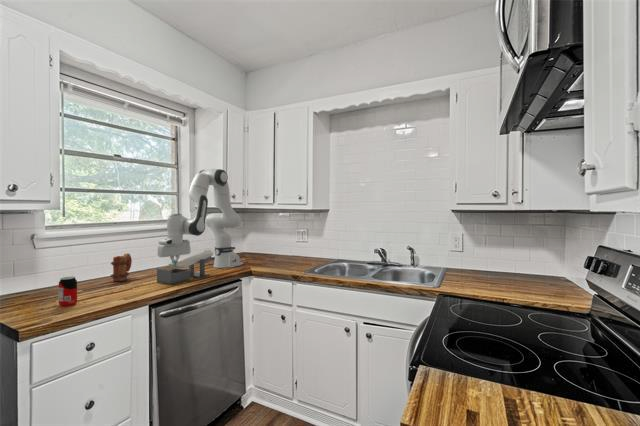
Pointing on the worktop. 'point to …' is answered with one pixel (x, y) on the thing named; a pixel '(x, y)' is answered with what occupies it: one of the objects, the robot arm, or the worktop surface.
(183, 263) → the lever
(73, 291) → the beverage can
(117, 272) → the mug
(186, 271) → the grey open box
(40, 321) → the worktop surface
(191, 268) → the stand
